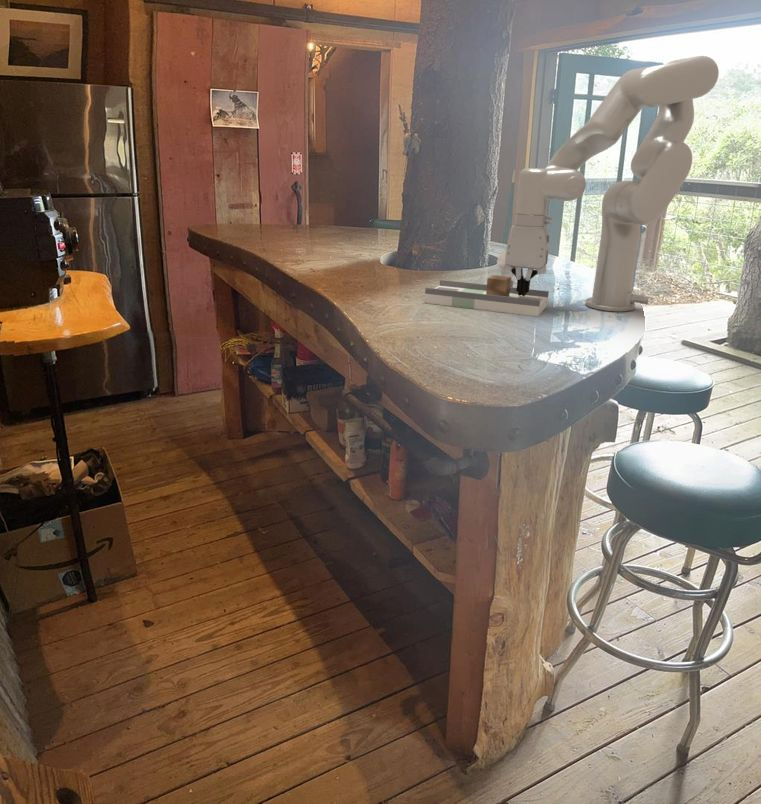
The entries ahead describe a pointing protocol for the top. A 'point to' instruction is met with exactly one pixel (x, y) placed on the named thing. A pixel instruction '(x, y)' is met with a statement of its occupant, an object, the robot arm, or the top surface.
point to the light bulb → (501, 267)
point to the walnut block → (498, 285)
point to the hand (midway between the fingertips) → (522, 294)
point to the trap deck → (486, 298)
